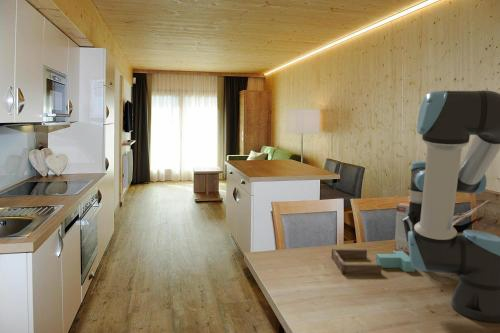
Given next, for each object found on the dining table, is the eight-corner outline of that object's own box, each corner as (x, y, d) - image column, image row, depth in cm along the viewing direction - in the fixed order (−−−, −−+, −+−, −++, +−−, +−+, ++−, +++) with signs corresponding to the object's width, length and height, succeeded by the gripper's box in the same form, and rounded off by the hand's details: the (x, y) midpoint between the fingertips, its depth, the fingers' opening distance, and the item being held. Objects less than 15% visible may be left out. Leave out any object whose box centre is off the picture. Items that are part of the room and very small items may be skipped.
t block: (414, 271, 145) (415, 261, 145) (383, 271, 145) (383, 261, 145) (401, 260, 157) (402, 250, 157) (372, 260, 157) (372, 250, 157)
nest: (381, 274, 142) (381, 265, 142) (342, 274, 142) (343, 265, 141) (365, 257, 160) (366, 249, 160) (331, 257, 160) (331, 249, 159)
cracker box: (432, 256, 162) (435, 207, 159) (424, 259, 158) (427, 209, 156) (401, 247, 173) (404, 201, 170) (393, 250, 169) (396, 203, 167)
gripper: (432, 199, 152) (428, 257, 155) (399, 199, 152) (396, 257, 155) (441, 203, 145) (437, 264, 148) (407, 203, 145) (403, 264, 147)
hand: (416, 260), depth 151 cm, fingers closed
